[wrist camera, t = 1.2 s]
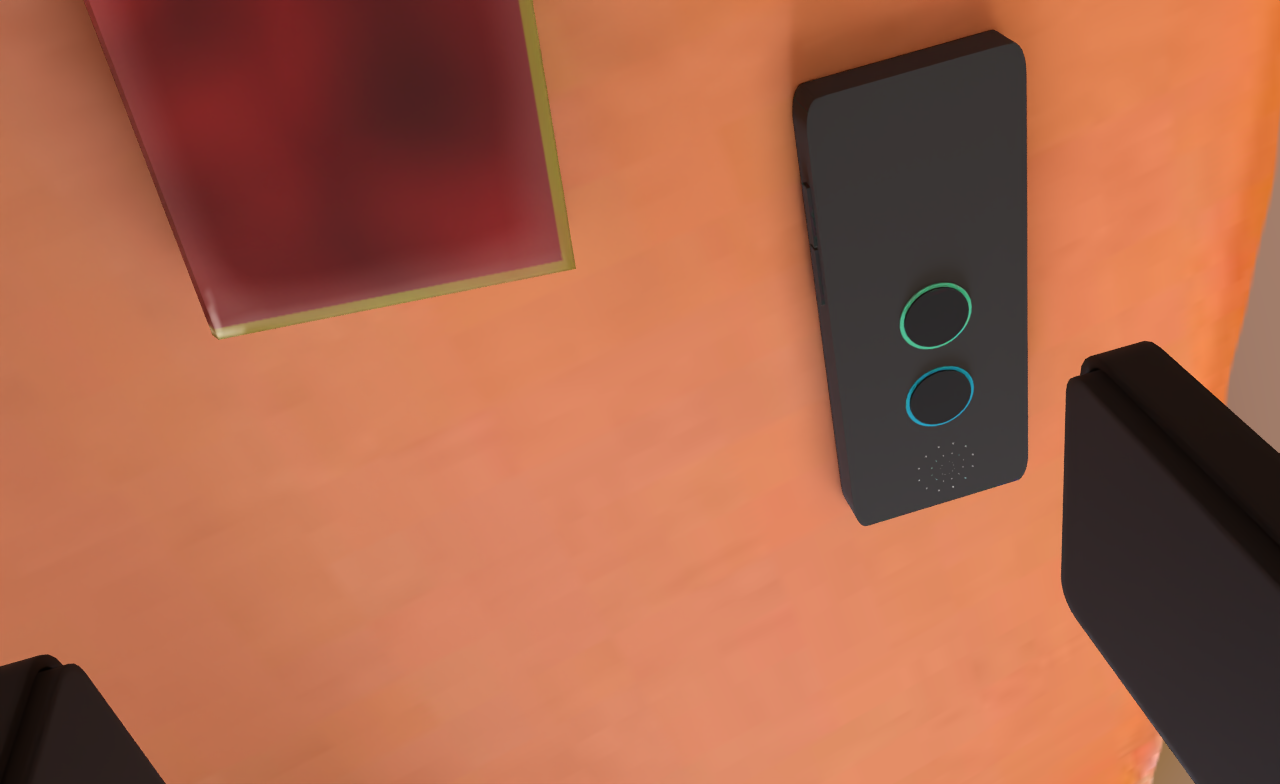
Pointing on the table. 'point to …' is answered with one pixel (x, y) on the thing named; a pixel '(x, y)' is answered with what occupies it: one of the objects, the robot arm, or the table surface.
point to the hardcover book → (341, 148)
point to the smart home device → (921, 269)
